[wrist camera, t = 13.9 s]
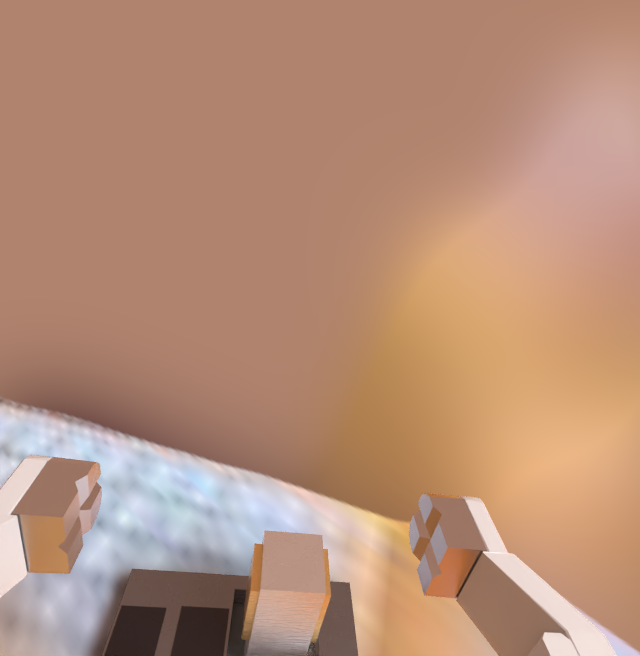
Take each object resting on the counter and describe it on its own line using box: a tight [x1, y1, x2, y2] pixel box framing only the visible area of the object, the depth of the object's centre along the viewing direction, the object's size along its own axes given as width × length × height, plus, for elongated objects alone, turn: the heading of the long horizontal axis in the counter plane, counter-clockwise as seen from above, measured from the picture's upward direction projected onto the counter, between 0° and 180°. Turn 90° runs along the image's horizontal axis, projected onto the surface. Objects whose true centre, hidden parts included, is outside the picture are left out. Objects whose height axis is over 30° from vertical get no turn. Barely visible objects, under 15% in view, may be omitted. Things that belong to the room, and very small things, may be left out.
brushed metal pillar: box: [241, 531, 331, 656], centre depth 33 cm, size 6×4×12 cm
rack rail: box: [102, 569, 358, 656], centre depth 35 cm, size 20×10×2 cm, turn 93°
